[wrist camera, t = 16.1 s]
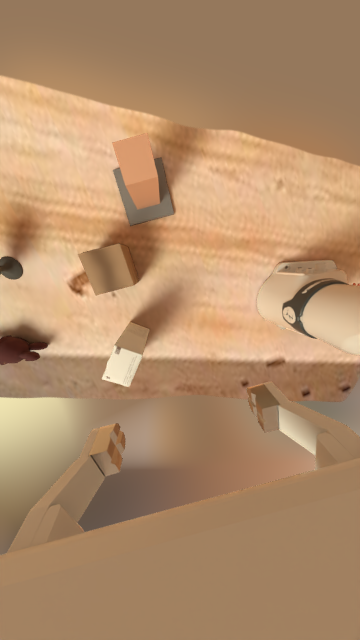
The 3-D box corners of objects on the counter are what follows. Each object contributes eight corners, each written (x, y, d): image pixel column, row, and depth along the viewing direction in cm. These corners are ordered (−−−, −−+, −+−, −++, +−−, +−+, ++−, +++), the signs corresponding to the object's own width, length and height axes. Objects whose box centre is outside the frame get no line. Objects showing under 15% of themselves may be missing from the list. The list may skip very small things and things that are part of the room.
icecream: (-36, 371, 38) (39, 372, 41) (-54, 347, 34) (31, 350, 37) (-11, 349, 44) (53, 352, 47) (-25, 327, 40) (47, 331, 43)
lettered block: (127, 245, 38) (118, 241, 31) (139, 281, 41) (133, 285, 34) (94, 254, 38) (77, 253, 31) (108, 289, 41) (95, 295, 34)
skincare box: (140, 352, 48) (130, 389, 34) (119, 345, 46) (100, 381, 32) (150, 327, 45) (144, 356, 32) (129, 319, 44) (113, 345, 30)
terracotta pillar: (152, 175, 34) (147, 132, 23) (159, 203, 36) (157, 176, 24) (129, 182, 34) (112, 142, 23) (137, 209, 36) (125, 185, 24)
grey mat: (161, 159, 34) (161, 157, 33) (173, 214, 37) (173, 213, 37) (113, 171, 34) (112, 170, 33) (130, 225, 37) (130, 225, 37)
